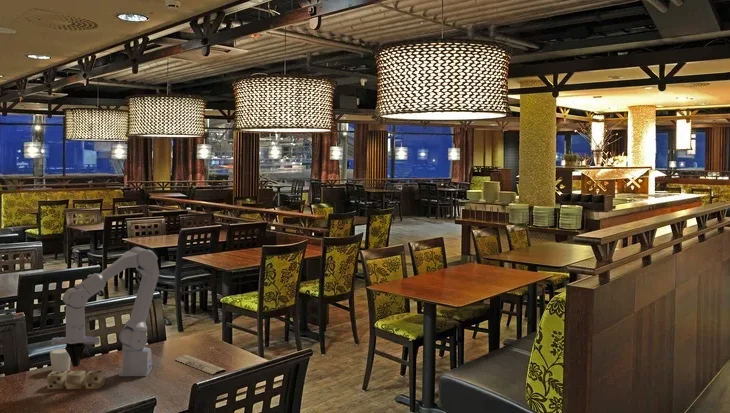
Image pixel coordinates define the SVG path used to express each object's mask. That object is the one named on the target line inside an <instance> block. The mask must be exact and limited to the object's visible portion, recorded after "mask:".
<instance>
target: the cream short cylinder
mask: <svg viewBox="0 0 730 413" xmlns="http://www.w3.org/2000/svg"><path fill="white" fill-rule="evenodd" d="M49 356H50V364H51V372H53V371H67V372H68V371H69V372H70V369H71V358H70V356H69V354H68V352H67V351H66V350H65V348H64V347H63V348H55V349H52V350H51V351H49Z"/></svg>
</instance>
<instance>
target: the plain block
mask: <svg viewBox="0 0 730 413" xmlns="http://www.w3.org/2000/svg"><path fill="white" fill-rule="evenodd" d="M86 375H87V374H86V370H71V371H69V372H68V373H67V375H66V386H65V388H66V389H65V390H79V389H80V390H81V389H82V388H83V387H84V386H86Z"/></svg>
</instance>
